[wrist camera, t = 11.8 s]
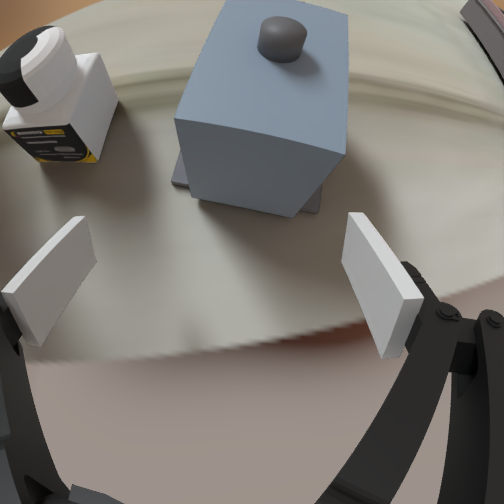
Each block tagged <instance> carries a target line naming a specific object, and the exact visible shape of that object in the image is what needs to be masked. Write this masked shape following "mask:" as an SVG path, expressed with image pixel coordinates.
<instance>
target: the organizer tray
mask: <svg viewBox="0 0 504 504" xmlns="http://www.w3.org/2000/svg"><path fill="white" fill-rule="evenodd" d="M460 13H461V15H462V16H463V17H464V19H465V20H466V21H467V23H468V24H469V25H470V27H471V28H472V30H473V31H474V32H475V34H476V35H477V37H478V38H479V40H480V41H481V43H482V44H483V46H484V47H485V49H486V50H487V52H488V53H489V55H490V57H491V58H492V60H493V61H494V63H495V65H496V66H497V68H498V70H499V72H500V73H501V75H502V77H503V79H504V10H502V9H501V8H499V7H498V6H496V5H495V4H494V2H493V1H492V0H469V1H468V2H467V3H466V4H465V6H464V7H463V8H462V9H461V11H460Z"/></svg>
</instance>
